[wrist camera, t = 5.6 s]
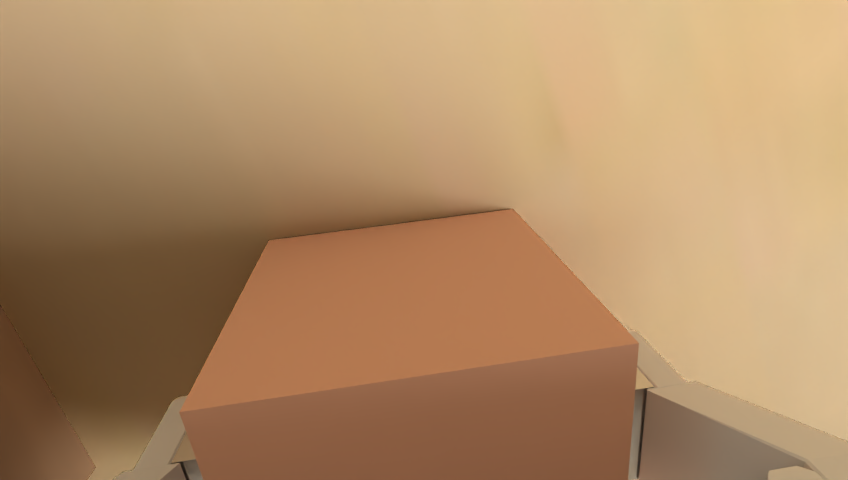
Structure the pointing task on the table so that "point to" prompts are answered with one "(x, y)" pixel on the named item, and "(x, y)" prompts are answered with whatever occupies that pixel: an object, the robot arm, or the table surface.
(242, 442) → the terracotta cube
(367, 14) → the table surface
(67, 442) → the walnut block
